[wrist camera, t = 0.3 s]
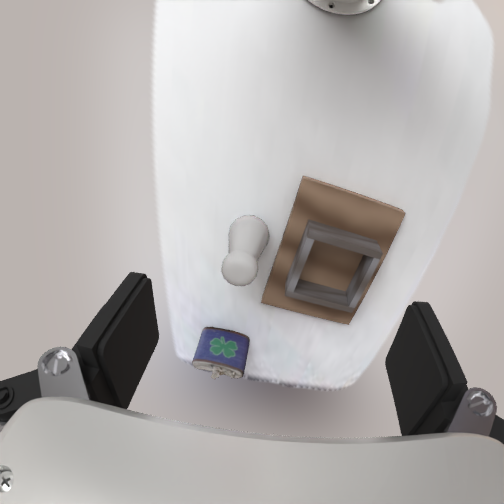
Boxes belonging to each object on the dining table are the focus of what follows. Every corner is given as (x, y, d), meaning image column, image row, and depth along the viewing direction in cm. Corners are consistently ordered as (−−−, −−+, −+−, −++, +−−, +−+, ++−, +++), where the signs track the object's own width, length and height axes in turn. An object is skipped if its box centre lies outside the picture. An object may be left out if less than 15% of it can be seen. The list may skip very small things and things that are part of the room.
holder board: (303, 175, 44) (304, 187, 39) (402, 209, 44) (414, 224, 39) (261, 297, 55) (258, 318, 50) (347, 319, 55) (351, 340, 50)
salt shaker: (242, 250, 51) (228, 300, 39) (224, 219, 48) (204, 263, 37) (276, 236, 49) (271, 285, 37) (259, 203, 46) (248, 245, 35)
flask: (202, 334, 61) (188, 375, 51) (203, 323, 59) (189, 365, 50) (248, 345, 61) (241, 388, 51) (251, 334, 59) (244, 378, 50)
